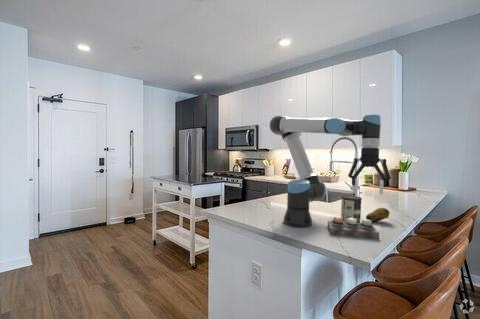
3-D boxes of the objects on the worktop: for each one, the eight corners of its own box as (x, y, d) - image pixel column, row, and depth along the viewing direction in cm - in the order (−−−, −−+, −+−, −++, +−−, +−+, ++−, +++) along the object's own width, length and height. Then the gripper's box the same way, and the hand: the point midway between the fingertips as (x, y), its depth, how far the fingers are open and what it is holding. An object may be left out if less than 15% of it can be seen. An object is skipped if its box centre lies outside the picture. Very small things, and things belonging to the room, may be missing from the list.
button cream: (348, 223, 116) (348, 219, 116) (346, 221, 120) (346, 217, 120) (357, 224, 115) (357, 220, 115) (355, 222, 119) (355, 218, 119)
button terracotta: (333, 222, 118) (334, 218, 117) (332, 220, 122) (332, 216, 122) (343, 223, 116) (343, 219, 116) (341, 220, 121) (341, 217, 120)
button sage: (362, 225, 114) (362, 221, 114) (360, 222, 118) (360, 218, 118) (372, 226, 113) (372, 222, 113) (369, 223, 117) (370, 219, 117)
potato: (362, 218, 142) (363, 205, 141) (385, 220, 140) (386, 206, 139) (367, 223, 133) (368, 209, 133) (392, 224, 131) (393, 210, 131)
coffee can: (357, 219, 139) (358, 195, 139) (362, 225, 129) (364, 199, 129) (338, 218, 141) (339, 194, 141) (342, 223, 131) (343, 198, 131)
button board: (330, 234, 114) (330, 225, 114) (327, 226, 126) (327, 218, 126) (378, 239, 109) (379, 230, 109) (371, 230, 121) (371, 222, 121)
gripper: (345, 146, 113) (343, 192, 114) (400, 148, 108) (398, 196, 109) (342, 147, 121) (340, 190, 122) (394, 148, 115) (392, 193, 116)
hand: (367, 193), depth 115 cm, fingers open, 11 cm apart
